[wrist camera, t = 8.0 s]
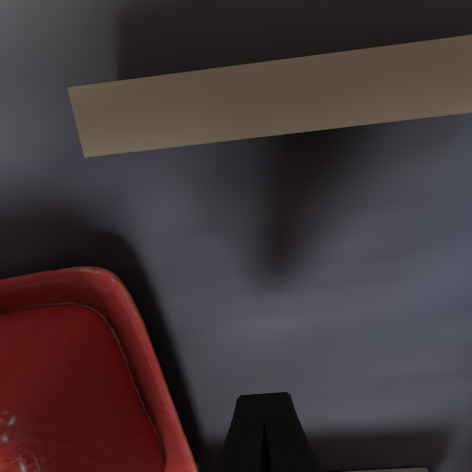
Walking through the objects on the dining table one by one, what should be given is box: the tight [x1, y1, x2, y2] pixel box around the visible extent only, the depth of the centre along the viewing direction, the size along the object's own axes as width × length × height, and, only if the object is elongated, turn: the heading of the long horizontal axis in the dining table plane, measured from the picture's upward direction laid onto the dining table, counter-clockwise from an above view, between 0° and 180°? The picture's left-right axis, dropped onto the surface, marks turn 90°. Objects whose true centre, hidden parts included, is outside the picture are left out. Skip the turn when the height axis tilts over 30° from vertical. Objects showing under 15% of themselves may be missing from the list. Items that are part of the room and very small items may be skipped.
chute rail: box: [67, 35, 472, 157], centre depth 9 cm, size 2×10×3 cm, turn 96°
